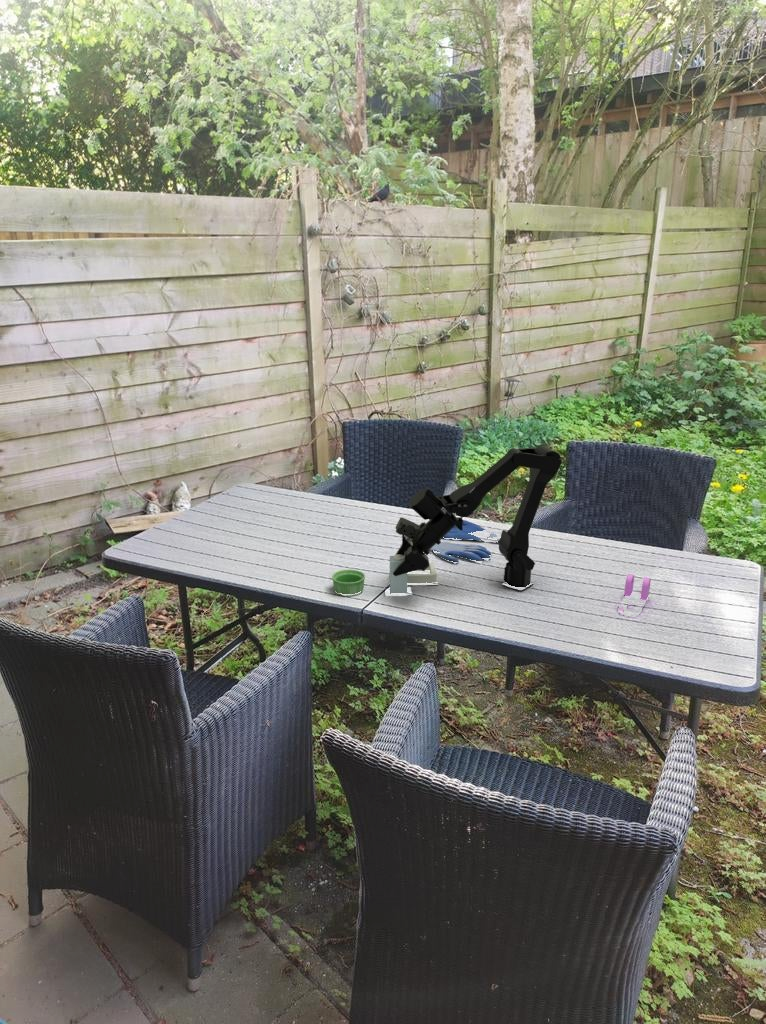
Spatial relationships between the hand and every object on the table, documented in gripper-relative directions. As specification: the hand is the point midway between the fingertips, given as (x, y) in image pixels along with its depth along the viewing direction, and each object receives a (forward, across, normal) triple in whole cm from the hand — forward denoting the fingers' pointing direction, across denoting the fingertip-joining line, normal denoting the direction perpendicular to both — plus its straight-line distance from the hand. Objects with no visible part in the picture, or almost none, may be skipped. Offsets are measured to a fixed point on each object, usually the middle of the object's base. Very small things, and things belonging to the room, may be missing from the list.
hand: (393, 568), depth 190 cm
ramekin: (+14, -2, -3) cm, 14 cm away
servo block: (+4, 0, +6) cm, 7 cm away
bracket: (-38, +10, +49) cm, 63 cm away
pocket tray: (+1, -9, +10) cm, 13 cm away
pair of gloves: (-11, -35, +22) cm, 43 cm away
